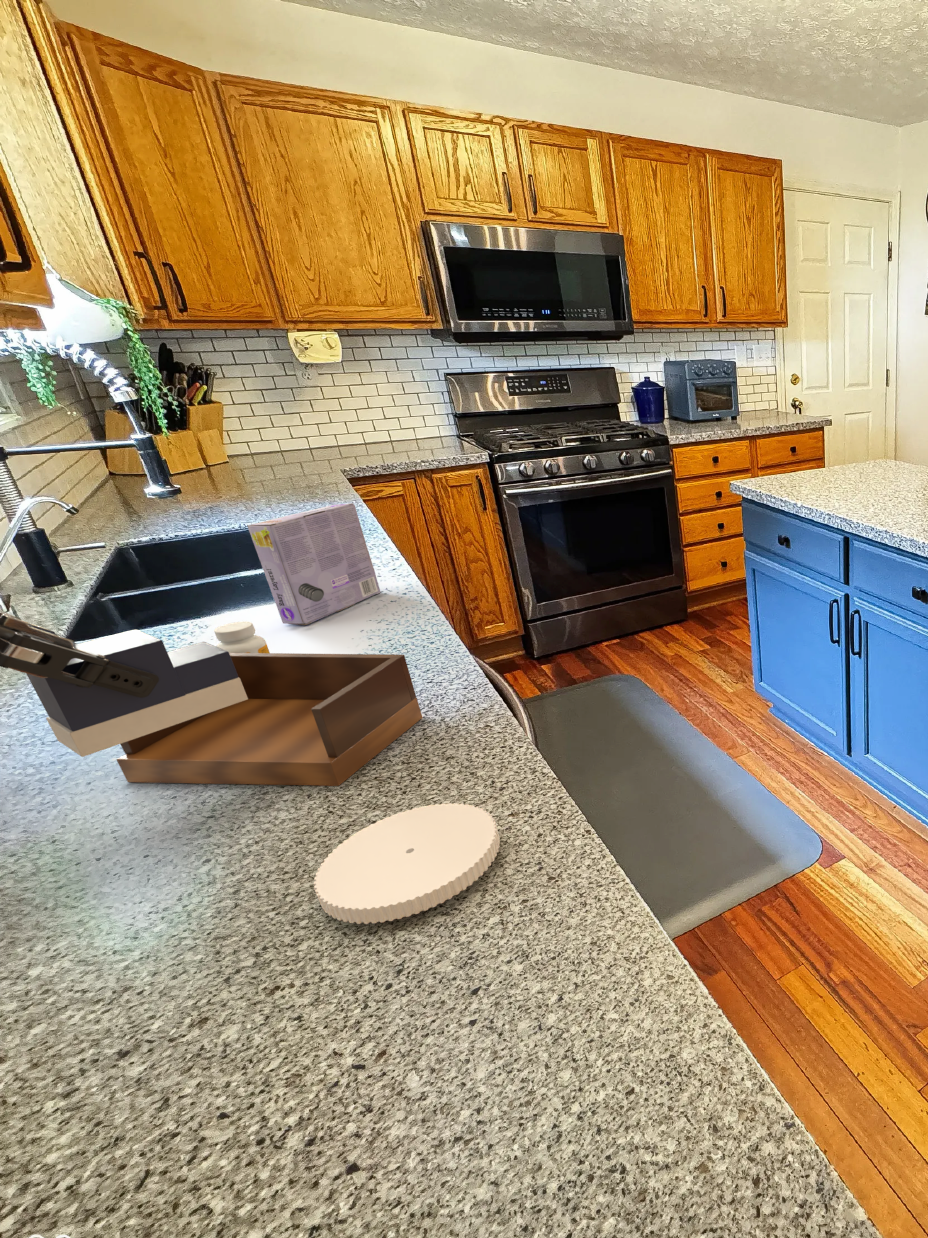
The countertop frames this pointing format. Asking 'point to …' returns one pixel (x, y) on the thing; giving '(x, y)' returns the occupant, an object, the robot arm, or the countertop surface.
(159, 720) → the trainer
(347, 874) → the plastic lid
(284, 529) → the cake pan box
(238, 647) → the supplement bottle
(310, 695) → the wooden tray
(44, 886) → the countertop surface
